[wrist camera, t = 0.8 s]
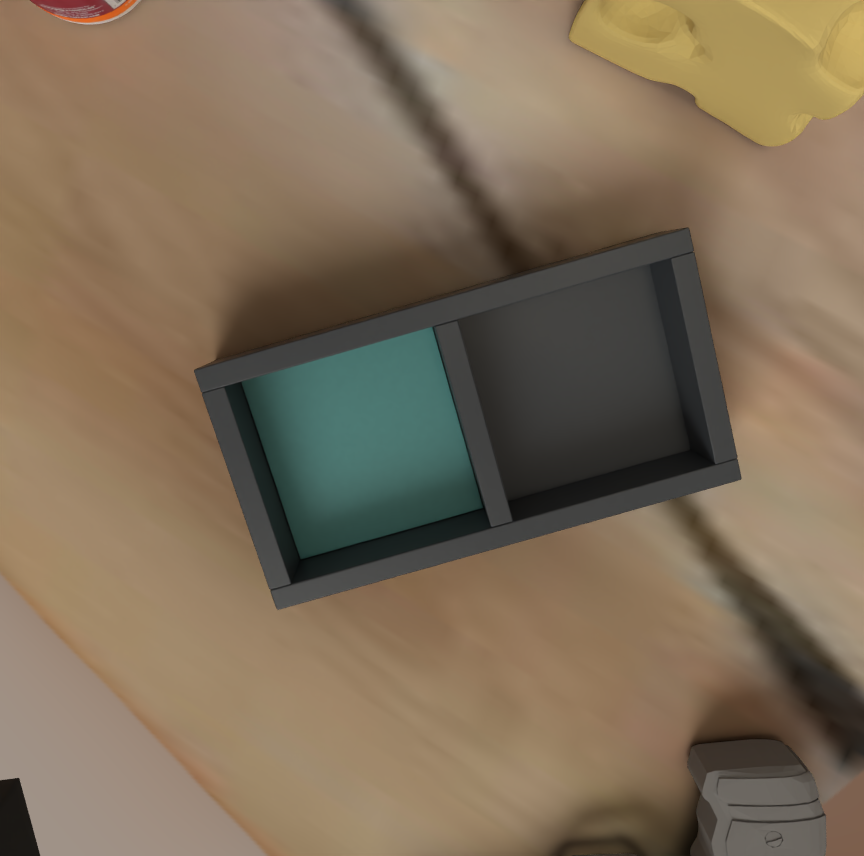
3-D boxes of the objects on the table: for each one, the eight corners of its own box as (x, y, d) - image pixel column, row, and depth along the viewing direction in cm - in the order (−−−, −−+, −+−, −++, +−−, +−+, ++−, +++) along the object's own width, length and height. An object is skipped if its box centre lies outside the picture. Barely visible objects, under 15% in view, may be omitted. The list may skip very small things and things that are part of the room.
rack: (214, 360, 36) (193, 370, 32) (660, 231, 35) (689, 227, 32) (288, 579, 38) (276, 611, 34) (710, 460, 37) (742, 479, 34)
